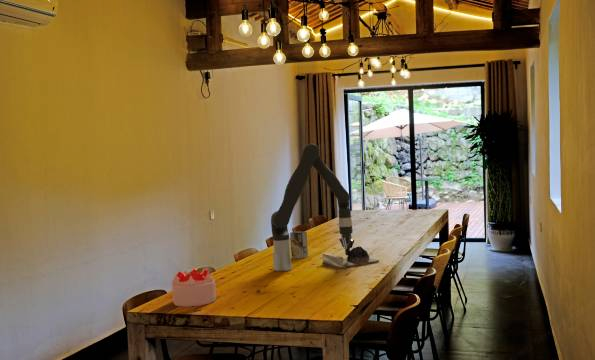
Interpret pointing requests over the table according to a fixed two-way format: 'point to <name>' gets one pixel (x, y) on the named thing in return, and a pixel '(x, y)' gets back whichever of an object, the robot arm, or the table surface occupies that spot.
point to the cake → (193, 288)
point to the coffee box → (299, 244)
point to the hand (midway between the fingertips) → (347, 255)
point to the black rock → (358, 255)
